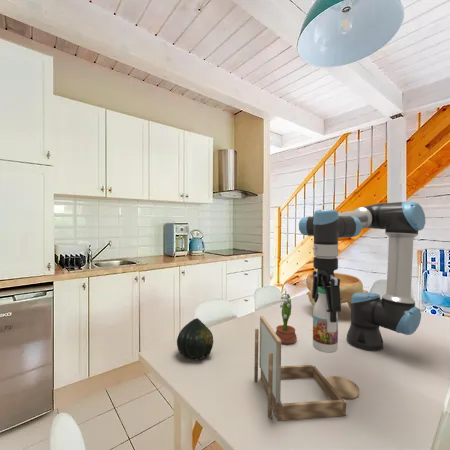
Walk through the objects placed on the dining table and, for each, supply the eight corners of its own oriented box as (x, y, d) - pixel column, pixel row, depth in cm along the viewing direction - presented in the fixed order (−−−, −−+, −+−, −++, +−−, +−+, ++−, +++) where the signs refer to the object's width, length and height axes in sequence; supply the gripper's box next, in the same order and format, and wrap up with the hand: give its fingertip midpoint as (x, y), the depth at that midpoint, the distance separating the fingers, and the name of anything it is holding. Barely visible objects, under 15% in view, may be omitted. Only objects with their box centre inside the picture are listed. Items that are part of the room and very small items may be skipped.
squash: (188, 356, 97) (207, 318, 105) (164, 345, 108) (183, 311, 115) (209, 371, 105) (225, 335, 113) (185, 359, 115) (202, 326, 123)
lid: (262, 366, 94) (262, 316, 94) (280, 404, 74) (281, 341, 74) (259, 366, 93) (260, 316, 93) (276, 405, 74) (277, 341, 74)
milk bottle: (309, 342, 91) (309, 284, 90) (330, 342, 91) (331, 284, 91) (318, 354, 83) (318, 290, 83) (342, 353, 84) (342, 290, 83)
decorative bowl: (290, 306, 176) (291, 272, 176) (335, 303, 185) (336, 270, 185) (322, 326, 143) (323, 283, 143) (375, 320, 152) (375, 280, 152)
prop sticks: (257, 380, 93) (258, 328, 92) (272, 418, 74) (273, 354, 74) (253, 380, 92) (254, 328, 92) (268, 418, 74) (269, 354, 74)
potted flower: (297, 348, 117) (298, 291, 117) (274, 346, 119) (275, 290, 119) (295, 337, 128) (296, 285, 128) (274, 335, 130) (275, 284, 130)
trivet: (347, 378, 95) (347, 375, 95) (367, 398, 84) (367, 395, 84) (317, 379, 93) (317, 376, 93) (334, 400, 82) (334, 397, 82)
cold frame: (314, 375, 96) (314, 363, 96) (346, 415, 76) (346, 399, 76) (260, 378, 94) (260, 365, 94) (278, 420, 74) (278, 404, 74)
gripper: (302, 253, 96) (302, 315, 97) (330, 261, 76) (329, 340, 77) (321, 252, 97) (321, 314, 98) (354, 261, 77) (354, 339, 77)
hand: (325, 326), depth 87 cm, fingers closed on milk bottle, 8 cm apart
